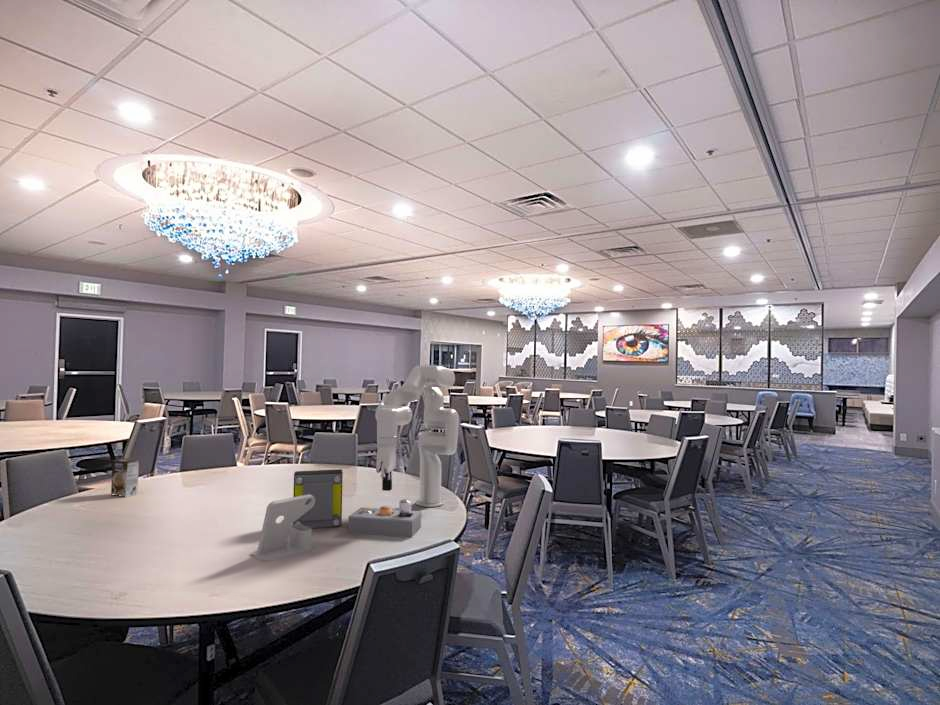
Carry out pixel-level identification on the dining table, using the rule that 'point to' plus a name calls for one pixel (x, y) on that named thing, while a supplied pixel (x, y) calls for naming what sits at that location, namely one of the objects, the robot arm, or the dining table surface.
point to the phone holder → (284, 529)
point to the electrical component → (320, 497)
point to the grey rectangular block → (384, 523)
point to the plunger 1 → (366, 512)
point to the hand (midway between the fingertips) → (387, 489)
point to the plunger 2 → (405, 508)
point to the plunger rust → (385, 511)
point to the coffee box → (124, 477)
